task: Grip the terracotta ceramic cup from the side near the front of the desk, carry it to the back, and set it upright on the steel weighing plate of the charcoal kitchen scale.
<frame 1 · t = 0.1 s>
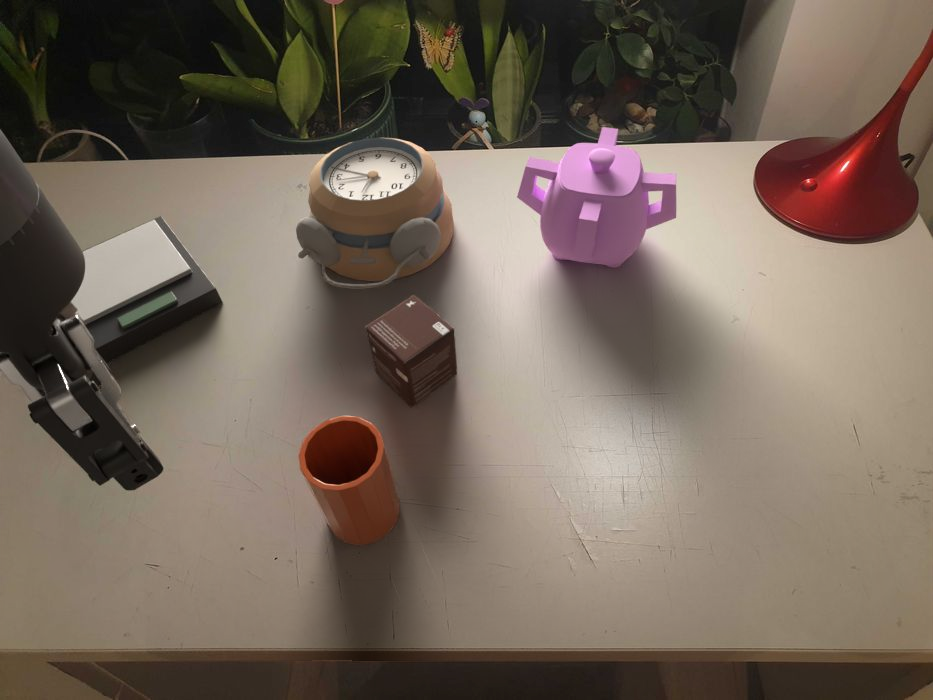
hand: (119, 427, 39), 20 cm above the table, tool pointing down, fingers open, 8 cm apart
pot: (590, 241, 77), on the table
box: (417, 375, 66), on the table
alarm clock: (380, 249, 78), on the table
cup: (363, 509, 57), on the table
scale: (137, 292, 75), on the table
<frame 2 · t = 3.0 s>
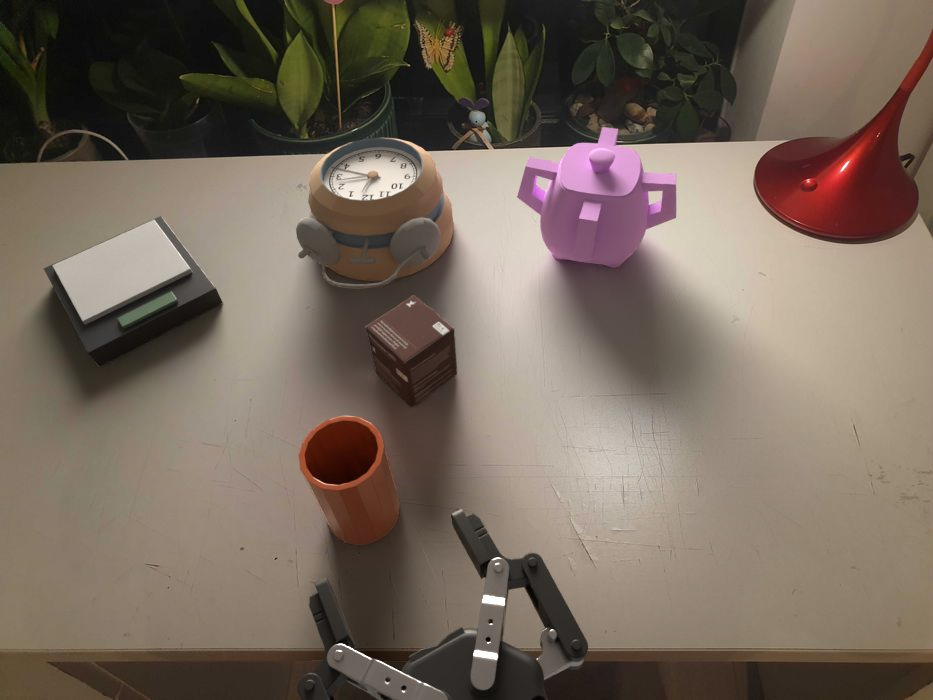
hand: (391, 549, 39), 15 cm above the table, tool horizontal, fingers open, 8 cm apart
nothing on the table moved.
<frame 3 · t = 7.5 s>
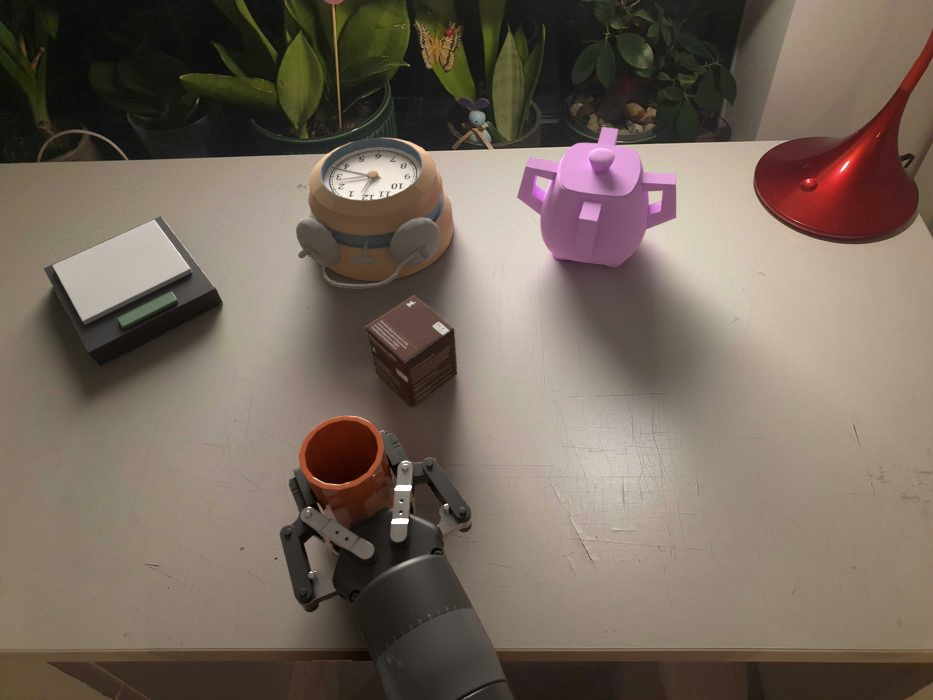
hand: (340, 454, 54), 6 cm above the table, tool horizontal, fingers closed on cup, 6 cm apart
cup: (363, 509, 57), on the table, touching gripper
everything else where it was.
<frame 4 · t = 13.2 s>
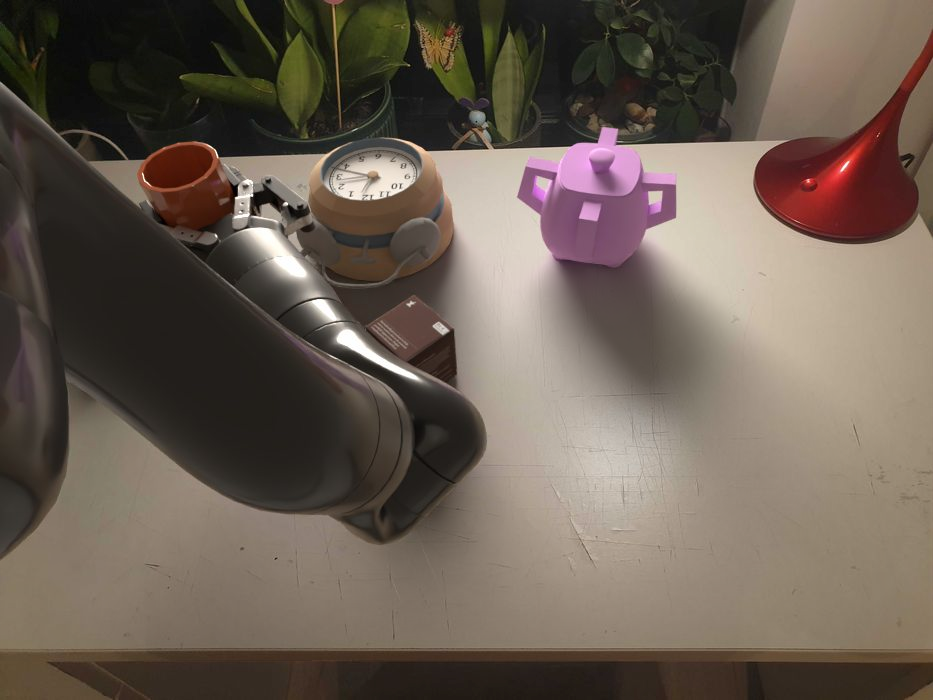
hand: (185, 191, 57), 18 cm above the table, tool horizontal, fingers closed on cup, 6 cm apart
cup: (222, 256, 60), point 12 cm above the table, touching gripper
everything else where it was.
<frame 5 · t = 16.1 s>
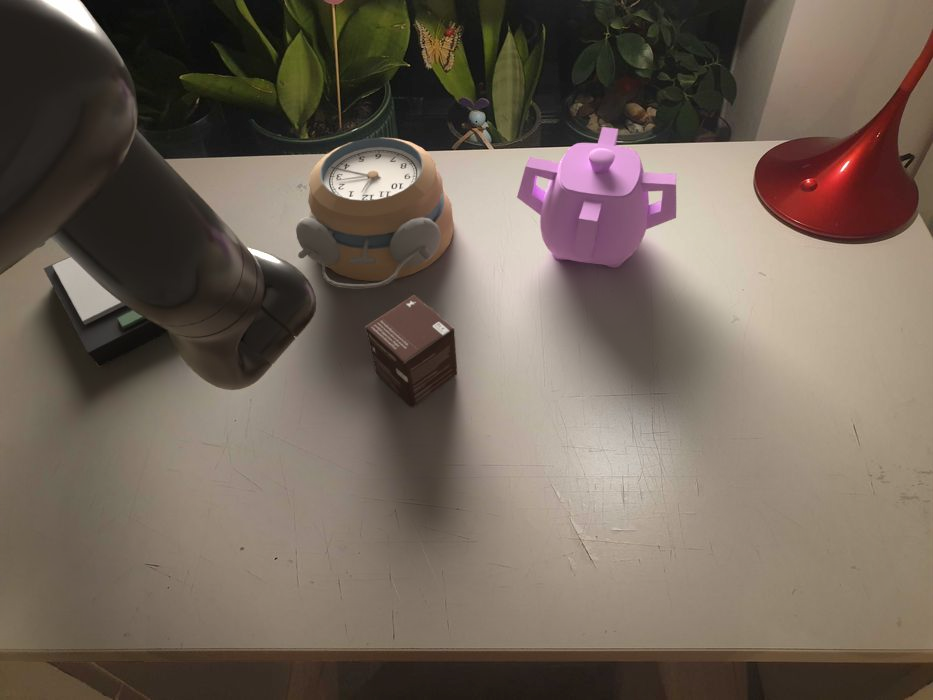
hand: (48, 158, 64), 16 cm above the table, tool horizontal, fingers closed on cup, 6 cm apart
cup: (90, 215, 68), point 10 cm above the table, touching gripper
everything else where it was.
when the fingers open (9 cm above the table, at t = 18.7 s): cup stays where it is, resting on scale.
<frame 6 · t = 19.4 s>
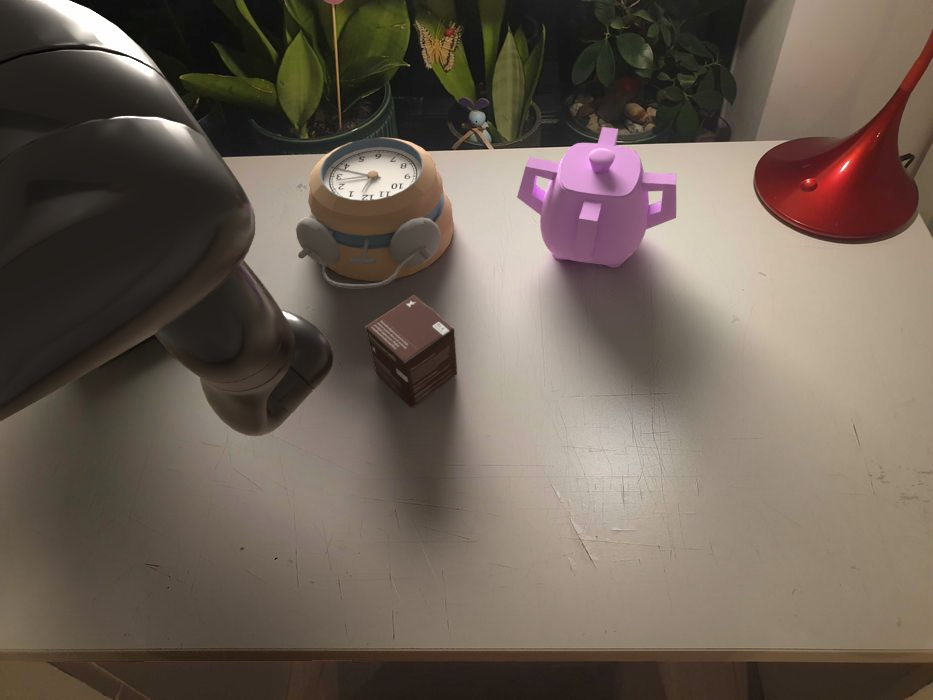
hand: (81, 211, 69), 10 cm above the table, tool horizontal, fingers open, 8 cm apart
cup: (121, 266, 73), point 3 cm above the table, touching scale
everything else where it was.
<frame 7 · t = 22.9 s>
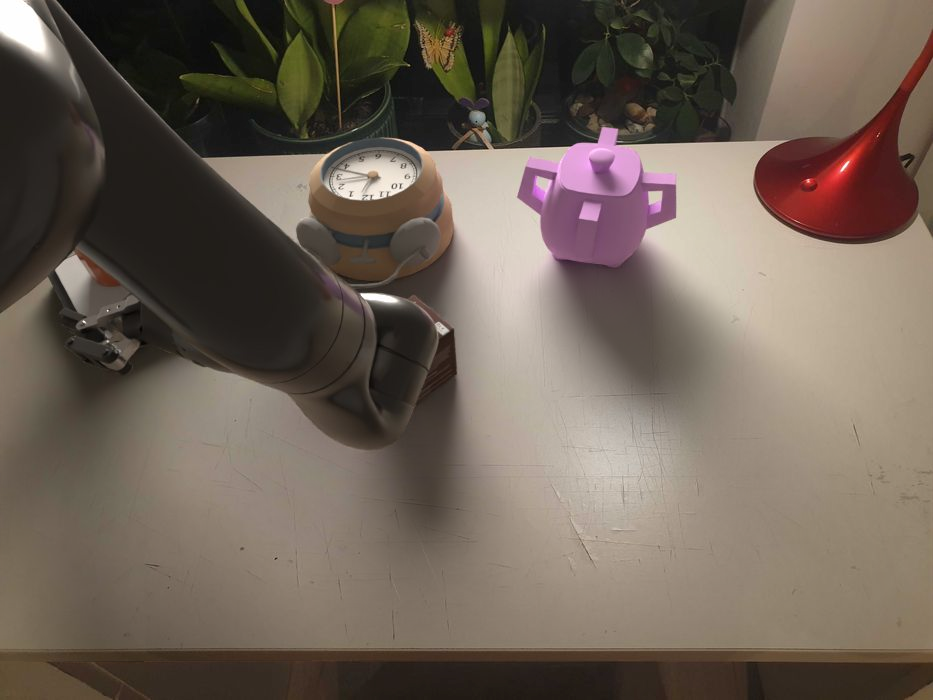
hand: (101, 283, 61), 11 cm above the table, tool horizontal, fingers open, 8 cm apart
nothing on the table moved.
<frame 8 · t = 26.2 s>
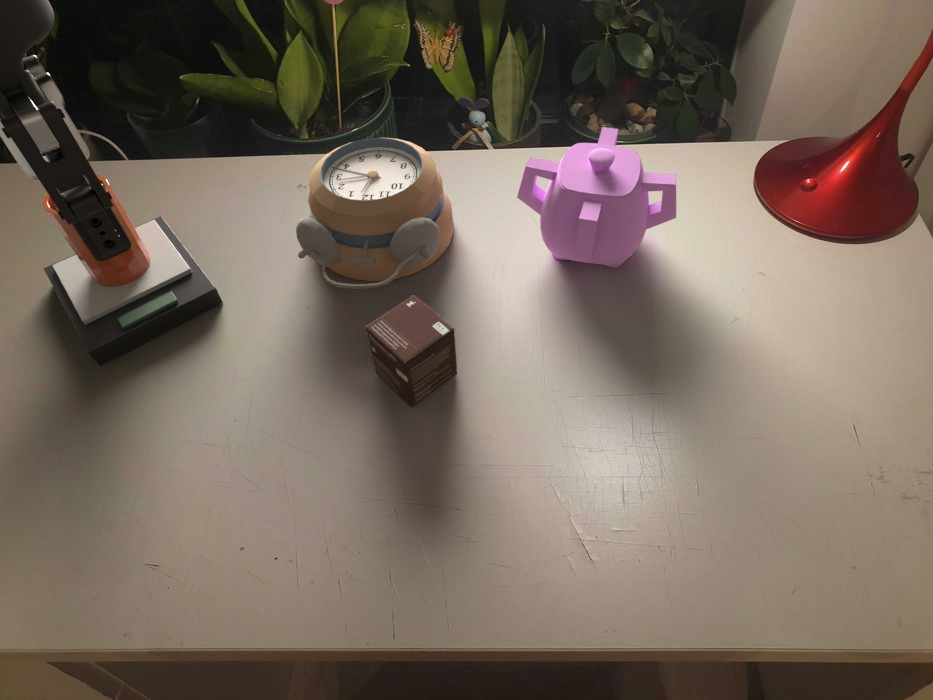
hand: (92, 218, 42), 26 cm above the table, tool pointing down, fingers open, 8 cm apart
nothing on the table moved.
at the end: cup inside the target area on the scale (0.1 cm from its centre), point 3.0 cm above the scale's base; cup tilted 0°; the gripper is holding nothing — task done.
